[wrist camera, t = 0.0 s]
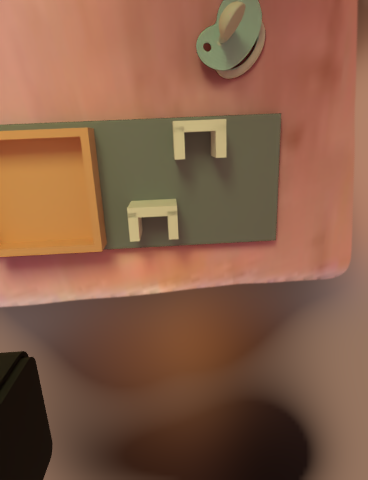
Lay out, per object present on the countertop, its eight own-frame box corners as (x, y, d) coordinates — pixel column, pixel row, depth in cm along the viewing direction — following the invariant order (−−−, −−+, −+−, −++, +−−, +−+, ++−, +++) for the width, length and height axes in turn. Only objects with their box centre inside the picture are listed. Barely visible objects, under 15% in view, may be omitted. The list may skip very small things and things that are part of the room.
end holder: (-31, 133, 34) (-47, 133, 31) (93, 128, 35) (87, 127, 32) (-5, 249, 38) (-18, 257, 35) (106, 243, 38) (102, 251, 36)
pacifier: (276, 32, 34) (232, -12, 33) (301, 11, 28) (248, -43, 27) (231, 93, 36) (187, 54, 34) (245, 86, 30) (193, 38, 28)
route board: (-32, 126, 35) (-65, 125, 30) (277, 114, 36) (295, 110, 31) (-5, 252, 39) (-30, 268, 34) (272, 237, 40) (287, 251, 35)
